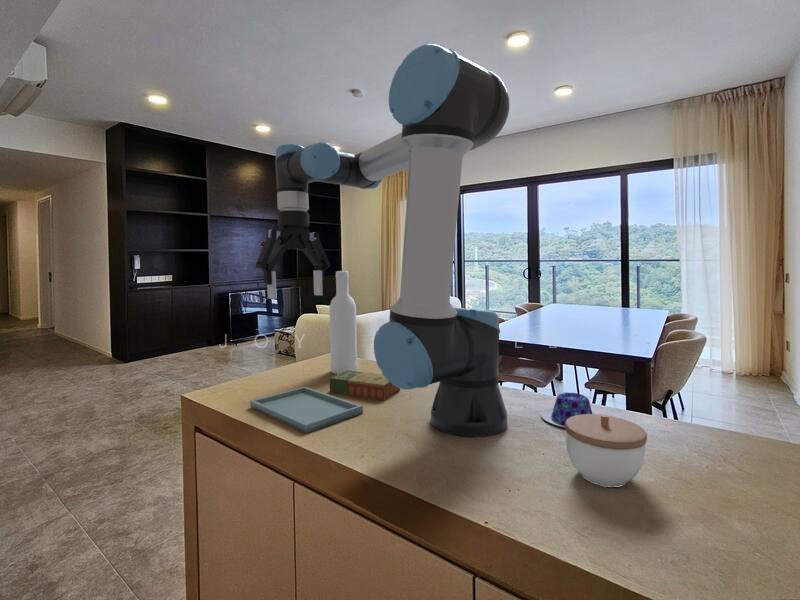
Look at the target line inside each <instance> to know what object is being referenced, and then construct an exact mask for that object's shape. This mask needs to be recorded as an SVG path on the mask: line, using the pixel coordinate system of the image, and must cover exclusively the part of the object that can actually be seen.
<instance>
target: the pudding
mask: <svg viewBox="0 0 800 600" xmlns="http://www.w3.org/2000/svg"><path fill="white" fill-rule="evenodd" d="M583 414H595V413H594V412H593V411H592V407H591V403H590V400H589V398H588V397H587V396H585V394H580V393H576V392H562V393H558V395H557V396H556V399H555V402H554V406H553V407H550V408H547V409H544V410H543V411H541V414H540V417H541V418H542V419H543V420H544V421H546V422H547V423H550V424H552V425H555V426H558V427H561V428H565V423H566V420H567V419H568V418H570V417H572V416H576V415H583Z"/></svg>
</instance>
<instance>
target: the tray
mask: <svg viewBox="0 0 800 600" xmlns="http://www.w3.org/2000/svg"><path fill="white" fill-rule="evenodd" d="M249 405H250V407H251V408H250V409H252V410H254V409H255V410H254V411H256V410H257V412H258V411H259V412H258V413H260V414H262V415H265V416H268V417H269V418H271V419H273V420H276V421H278V422H280V423H282V424H284V425H286V426H289V427H291V428H293V429H295V430H297V431H300V432H301V433H303V434H308V433H311V432H314V431H316V430H319V429H322V428H325V427H327V426H328V427H329V426H330V425H331V426H332V425H333V424H337V423H339V422H341V421H345V420H347V419H351V418H353V417H356V416H358V415H362V414H364V413H363V411H364V407H363V406H364V405H362V404H358V403H355V402H353V401H349V400H346V399H344V398H340V397H338V396H335V395H331V394H328V393H326V392H322V391H319V390H316V389H314V388H310V387H307V386H302V387H298V388H295V389H291V390H287V391H282V392H280V393H279V392H278V393H276V394H272V395H271V394H270V395H268V396H263V397H260V398H259V397H258V398H256V399H251V400H250V401H249Z"/></svg>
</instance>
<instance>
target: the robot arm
mask: <svg viewBox="0 0 800 600" xmlns="http://www.w3.org/2000/svg"><path fill="white" fill-rule="evenodd" d="M389 88H390V89H389V92H388V107H389V112H390V113H391V114H392V117H393V119H394V120H396V122H397V123H398V124H400V125H401V126H402V127H401V132H398V133H397V134H395V135H393V136H391V137H389V138H388V139H386V140H383V141H381V142H379V143H377V144H375V145H373V146H371V147H368V149H367V148H366V150H363V151H361V152H359V153H356V154H353V153H349V152H343V151H338V150H337V149H336V148H335V147H334V146H332V145H331V144H330V143H328V142H324V141H322V142H320V141H319V142H317V143H316V142H315V143H313V144H309V145H307V146H306V147H304V146H303V145H299V144H295V143H294V144H293V143H286V144H280V145H278V146H277V147H276V150H275V160H274V165H275V175H276V176H275V177H276V178H275V180H276V194H277V195H276V197H277V198H276V199H277V200H276V201H277V210H279V211H278V212H277V225H278V230H276V228H275V229H274V228H271V229H268V230H267V231H266V237H265V238H266V239H265V241H264V243H263V246H262V249H261V251H260V254H259V256H258V258H257V260H256V263H255V268H256V269H258V270H261V272H263V281H264V282H263V283H264V285H266V289H267V291H266V292H267V299H269V300H270V299H271V300H274V299H275V300H277V297H278V296H277V294H278V293H277V275H276V274H277V273H276V271H273V270H274V268H275V266H276V265H277V264H278V263H279V261H280V260H281V259H282V257H283V256H284V254H285V252H286V251H287V250H300V251H301V252H303V254H305V256H306V257H307V259H308V260H309V261H310V263H311V264H312V266H313V267H314V268H315V270H313V274H312V275H313V295H314V296H323V294H324V293H323V283H324V282H325V271H326V270H327V269H328V268H330V267H331V263H330V260H329V258H328V256H327V253H326V251H325V249H324V247H323V246H324V245H322V242H321V239H320V238H321V237H320V233H319V231H315V232H314V231H313V232H310V231H309V227H310V213H309V212H308V211H309V210H310V205H309V204H310V203H309V202H310V201H309V184H310V183H313V182H314V183H315V182H321V183H327V184H334V185H341V186H346V187H352V188H353V187H354V188H358V189H363V190H366V189H370V190H374V189H377V188H378V187H379V186H380V184H381V183H382V181H383V180H384V179H385V178H388V177H390V176H392V175H395V174H398V173H400V172H402V171H405V170H408V173H407V174H408V175H407V178H408V179H407V189H406V190H407V191H406V204H405V205H406V206H405V219H404V230H403V231H404V232H403V247H402V259H401V260H402V261H401V277H400V290H399V292H400V293H399V298H398V299H397V300H396V301H395V302H394V303H392V304H391V305H390V306H389V307H390V308H389V318H388V319H389V321H387V322H385V323H383V324H382V325H381V326H379V329H378V330H376V332H375V334H374V337H373V353H374V358H375V361H376V364H377V366H378V368H379V370H380V371H381V374H382V375H384V376H385V378H386V379H387V380H388V381H389V382H390V383H391V384H393V385H394V386H396V387H398V388H400V390H401V389H402V390H405V391H406V390H413V389H417V388H418V389H419V388H420V389H423V388H427V387H428V386H430V385H433V384H435V383H439V384H438V387H437V389H436V392H435V393H436V394H435V396H434V399H433V402H432V406H431V408H430V423H431V425H432V426H433V427H434V428H435V429H438V430H439V431H442V432H444V433H447V434H451V435H453V436H454V435H456V436H459V437H488V436H491V435H492V436H493V435H496V434H499V433H501V432H503V431H504V430H505V429H507V427H508V411H507V409H506V406H505V403H504V402H505V401H504V398H503V396H502V393H501V389H500V385H499V373H500V371H499V369H500V367H499V365H500V364H499V363H500V333H501V329H500V321H499V315H498V313H497V312H495V311H493V310H486V309H474V308H464V307H463V308H462V307H455V306H453V305H452V304H451V302H450V299H451V289H452V288H451V287H452V278H453V267H454V266H453V265H454V254H455V246H456V245H455V244H456V236H457V235H456V234H457V223H458V221H457V220H458V213H459V212H458V210H459V201H460V190H461V178H462V168H463V159H464V158H463V157H464V156H466V154H467V153H468V152H469V151H472V150H475V149H477V148H479V147H482V146H484V145H486V144H487V143H489V142H490V141H492V140H494V139H495V138H496V137H497V136H498V135H499V134H500V132H501V131H502V130H503V128H504V126H505V124H506V123H507V120H508V117H509V111H510V96H509V92H508V90H507V87H506V85H505V83H504V82H503V81H502V79H501V78H500V77H499V76H498V75H497V74H496V73H495V72H493V71H490V70H488V69H486V68H484V67H482V66H480V65H478V64H476V63H475V62H472V61H471V60H469V59H467V58H466V57H465V58H464V57H463V56H461V55H459V54H458V53H457V52H456V51H455V50H453V49H451V48H449V49H448V48H445V47H443V46H440V45H438V44H433V43H426V44H422V45H420V46H418V47H416V48H415V49H413V50H411V52H409V53H408V54H407V55H406V56H405V57H404V59H403V61H402V62H401V63H400V65H399V66H398V67H397V69H396V70H395V73H394V75H393V77H392V80H391V83H390V86H389ZM278 238H279V240H280V241H279V242H278V243H277V246H276V248H275V250H274V251H273V249H274V247H275V244H276V242H277V239H278ZM309 241H310V242H309Z"/></svg>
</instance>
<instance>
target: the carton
mask: <svg viewBox="0 0 800 600" xmlns="http://www.w3.org/2000/svg"><path fill="white" fill-rule="evenodd" d="M399 391H400V392H401V388H398V387H396V386H394V385H393V384H391V383H390V382H389V381H388V380H387V379H386V378H385V376H384V375H383V373H380V374H379V373H373V372H372V373H371V372H363V371H357V372H356V371H349V370H347V371H345V372H343V373H340V374H338V375H336V374H335V375H333V376H332V377H330V378H329V392H330V393H335V394H340V393H341V395H347V394H349V396H353V395H354V396H355V397H359V396H360V398H366V399H367V398H368V399H372V398H373V400H378V401H379V400H380V401H386V400H388V399H389V397H390V398H391V397H393V396H394V394H395V395H396V394H398V393H400V392H399ZM397 392H398V393H397ZM392 395H393V396H392ZM354 396H353V397H354Z"/></svg>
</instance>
